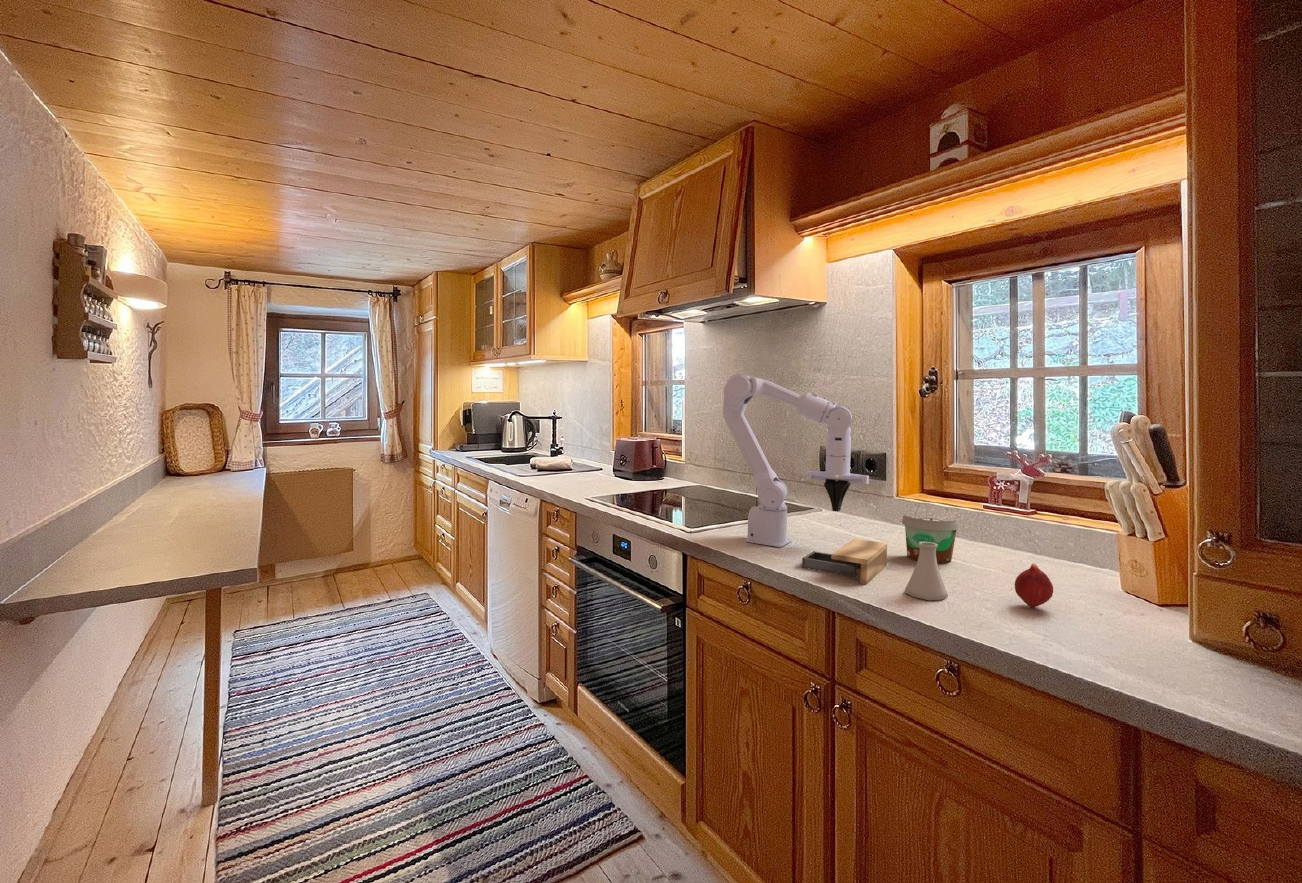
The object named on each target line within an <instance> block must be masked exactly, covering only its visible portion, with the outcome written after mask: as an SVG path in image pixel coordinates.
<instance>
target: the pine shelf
mask: <svg viewBox="0 0 1302 883" xmlns="http://www.w3.org/2000/svg"><path fill="white" fill-rule="evenodd" d="M831 554H832V555H831V559H836V560H842V561H848V562H854V563H860V564H861V567H859V568H857V577H856V579H857V578H858V579H857V580H860V583H859V584H861V585H868V583H870V582H871V581H872V580H873V579H874V578H875V577H876V576H877V575H879V573H880V572H882V571H883V570H884V569H885V568H886V567H887V562H888V561H887V560H888V559H887V554H888V543H886V542H879V541H872V540H866V539H858V538H854V539H851V540H850V541H849V542H847V543H845V544H844V545H842V546H841V547H839V548H838V549H837V550H836V551H834V552H832V553H831Z"/></svg>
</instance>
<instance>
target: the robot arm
mask: <svg viewBox="0 0 1302 883" xmlns="http://www.w3.org/2000/svg"><path fill="white" fill-rule="evenodd" d="M757 396H759V397H760V396H767V397H770V398H772V399H775V400H778V401H779V402H782V403H785V404H788V405H791V406H793V407H795V409H796V411H797V413H798V414H799V415H801V416H803V417H806V418H808V419H809V420H812V421H815V422H817V423H820V424H826V425H827V426H828V427H827V436H826V444H825V446H826V449H825V471H824V470H823V471H820V470H819V471H818V470H808V471H807V474H806V475H807V480H815V481H817V480H818V481H819V480H820V481H824V483H823V486H824V488H825V489H826V492H827V494H828V496H829V499H830V503H831V504H830V505H831V509H832V512H837V513H838V512H840V511H841V509H842V504H843V501H844V499H845V496H846V493H847V492H848V490H849V488H850V486H851V483H852V484H861V485H869V484H870V476H869V475H865V474H859V473H858V474H857V473H851V455H852V454H851V450H852V436H851V434H852V430H851V424H852V423H853V416H852V412H851V411H850V410H849V409H848V408H847V407H845V406H844V405H837V404H838V403H837V401H835V400H832V401H829V400H827V399H825V398H822V397H820V396H819V394H818V393H816V392H812V393H810V392H806V393H803V394H799V393H797V392H794V391H792V390H790V389H788V388H785V387H783V386H781V385H779V384H777V383H775V382H772V381H770V380H768V379H765V378H764V379H763V378H760V377H754V376H751V375H750V374H743V373H736V374H733V375H731V376H730V377H729V378H728V380H727V381H726V384H725V385H724V388H723V404H722V405H723V406H722V416H723V419H724V421H725V423H726V425H727V426H728V429H729V431H730V432H731V435H732V437H733V438H734V441H735V442H736V444H737V446H738V448H739V450H740V453H741V455H742V456H743V458H744V461H745V462H746V464H747V467H748V469H749V470H750V473H751V475H752V477H753V480H754V486H755V488H756V490H757V500H758V502H759V504H758V506H757V505H755V506H754V505H753V506H751V508H750V509H749V511H748V516H747V539H746V540H745V542H746V543H751V544H757V545H758V544H759V545H765V546H770V547H777V548H782V547H783V546H786V545H787V544H789V543H791V542H793V539H791V538H787V534H788V528H787V527H788V506H787V505H786V502H785V500H786V498H788V494H789V492H788V487H787V485H786V483H785V482H783V481H782V480H781V479H779V477H778V475H777V473H776V472H775V471H774V470H773V468H772V467H771V465H770V463H769V461H768V460H767V457H766V455H765V454H764V451H763V449H762V447H761V446H760V444H759V441H758V440H757V437H756V436H755V434H754V431H753V430H752V428H751V426H750V423H749V422H748V419H747V418H746V416H745V412H746V409H747V407H748V404H749V402H750V401H751V400H752V398H753V397H757Z"/></svg>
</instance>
